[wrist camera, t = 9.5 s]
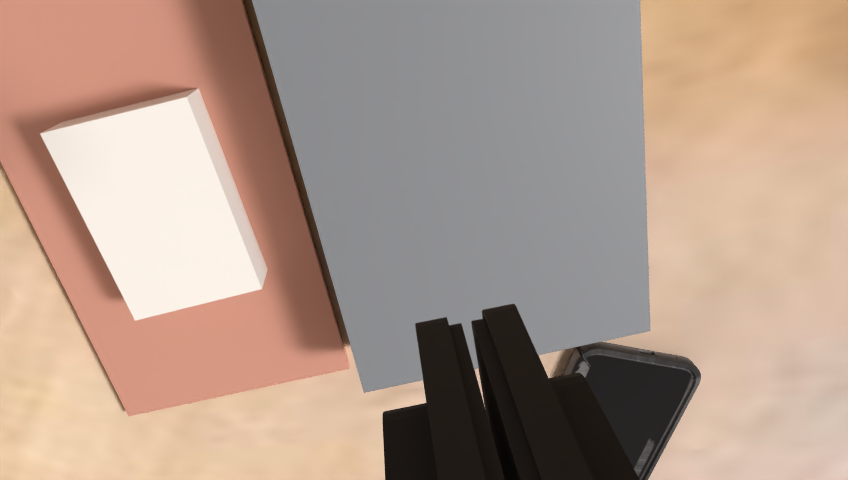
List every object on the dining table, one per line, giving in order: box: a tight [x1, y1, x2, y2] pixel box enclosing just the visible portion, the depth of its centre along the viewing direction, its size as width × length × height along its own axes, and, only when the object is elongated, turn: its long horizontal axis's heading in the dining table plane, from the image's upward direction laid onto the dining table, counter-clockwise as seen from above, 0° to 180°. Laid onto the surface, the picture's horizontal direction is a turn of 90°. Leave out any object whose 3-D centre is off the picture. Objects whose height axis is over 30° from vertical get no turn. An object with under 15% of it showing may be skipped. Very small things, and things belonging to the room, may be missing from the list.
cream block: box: [40, 88, 268, 321], centre depth 27 cm, size 9×6×2 cm, turn 13°
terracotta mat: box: [0, 0, 349, 416], centre depth 28 cm, size 24×12×1 cm, turn 11°
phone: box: [563, 342, 701, 480], centre depth 37 cm, size 8×1×15 cm
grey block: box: [252, 0, 650, 393], centre depth 26 cm, size 22×14×4 cm, turn 11°
